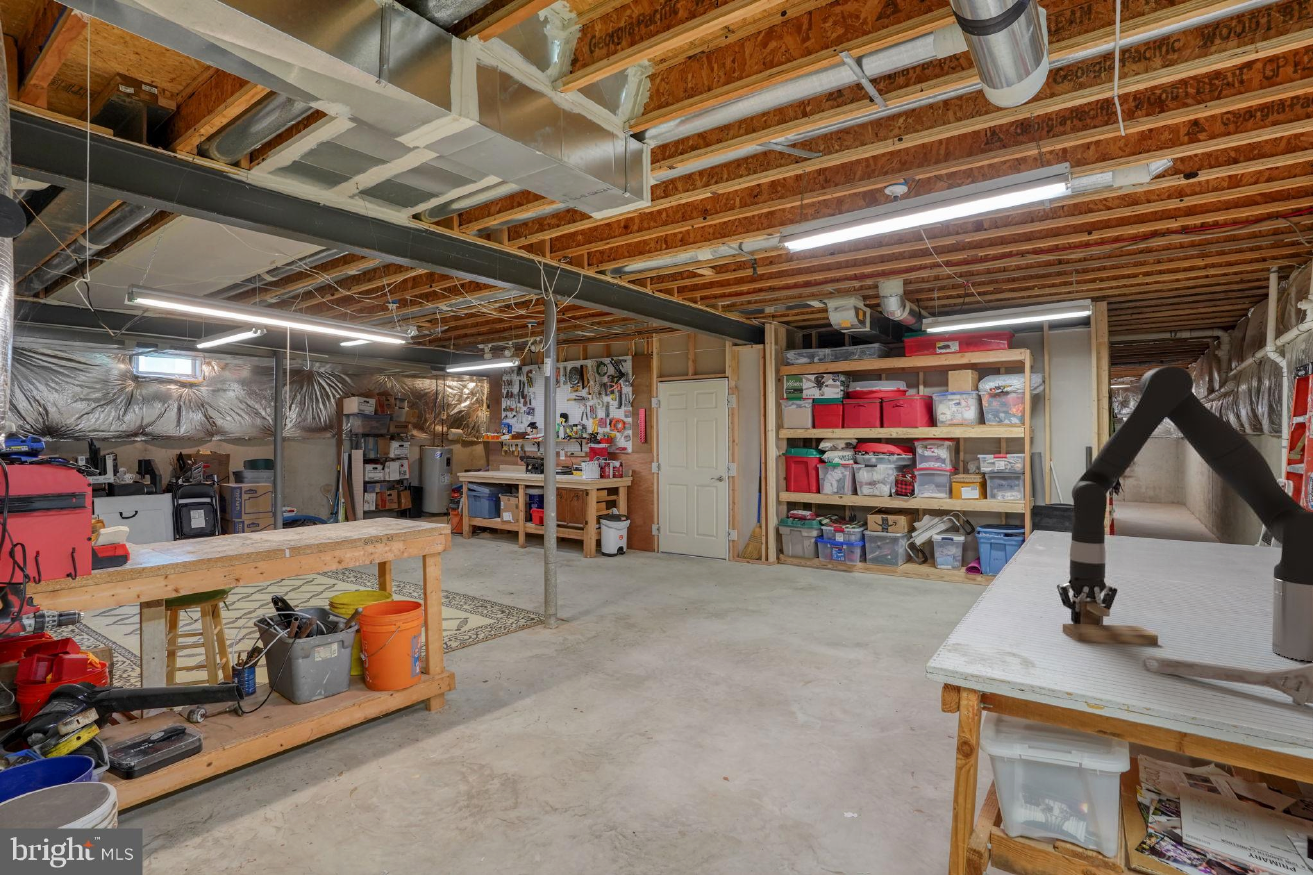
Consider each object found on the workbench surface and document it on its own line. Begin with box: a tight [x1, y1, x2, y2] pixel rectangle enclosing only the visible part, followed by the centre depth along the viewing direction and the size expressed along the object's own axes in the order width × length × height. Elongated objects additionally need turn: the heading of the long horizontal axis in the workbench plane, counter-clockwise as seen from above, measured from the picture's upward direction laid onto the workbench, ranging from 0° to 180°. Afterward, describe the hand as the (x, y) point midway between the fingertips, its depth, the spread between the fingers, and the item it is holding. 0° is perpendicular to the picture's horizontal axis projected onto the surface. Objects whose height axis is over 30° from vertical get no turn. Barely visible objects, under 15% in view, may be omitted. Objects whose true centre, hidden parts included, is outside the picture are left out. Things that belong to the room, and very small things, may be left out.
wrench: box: [1141, 655, 1313, 707], centre depth 125 cm, size 8×2×30 cm
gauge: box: [1079, 599, 1111, 626], centre depth 158 cm, size 4×10×7 cm, turn 174°
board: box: [1062, 623, 1159, 645], centre depth 155 cm, size 18×7×2 cm, turn 84°
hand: (1086, 625), depth 161 cm, fingers closed on gauge, 4 cm apart
